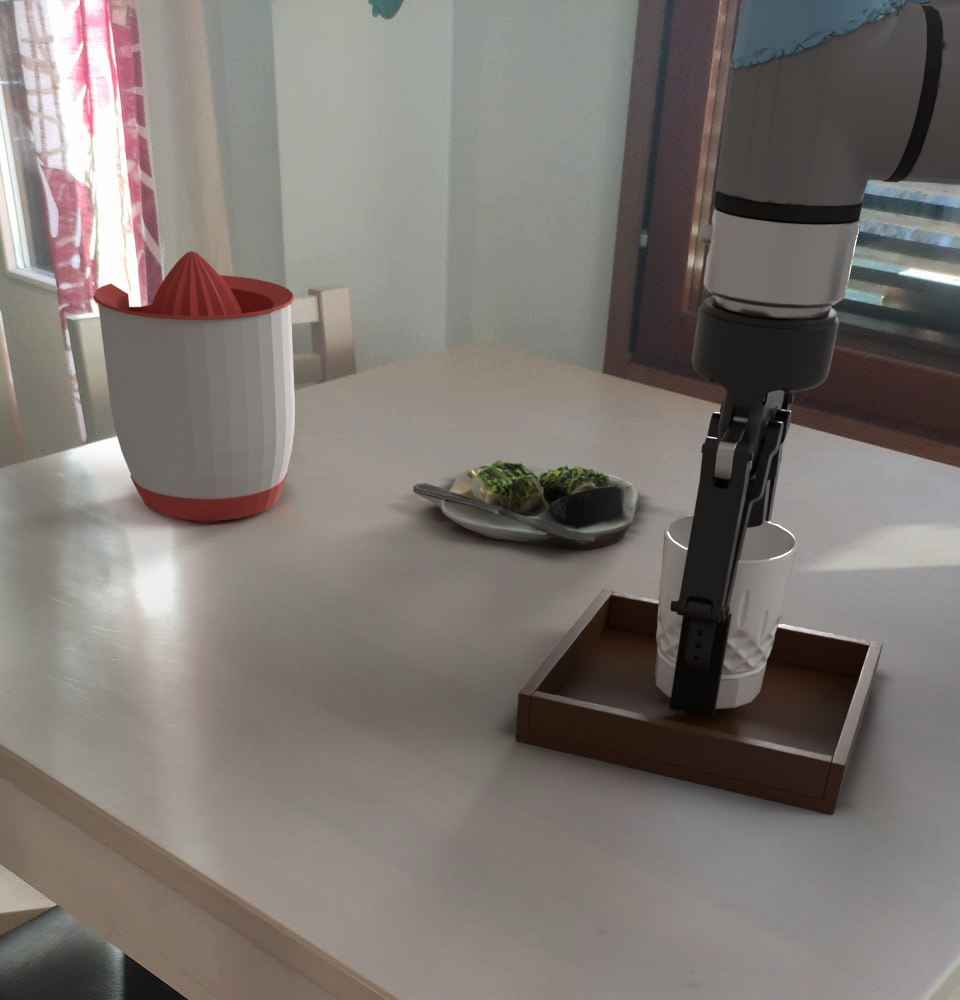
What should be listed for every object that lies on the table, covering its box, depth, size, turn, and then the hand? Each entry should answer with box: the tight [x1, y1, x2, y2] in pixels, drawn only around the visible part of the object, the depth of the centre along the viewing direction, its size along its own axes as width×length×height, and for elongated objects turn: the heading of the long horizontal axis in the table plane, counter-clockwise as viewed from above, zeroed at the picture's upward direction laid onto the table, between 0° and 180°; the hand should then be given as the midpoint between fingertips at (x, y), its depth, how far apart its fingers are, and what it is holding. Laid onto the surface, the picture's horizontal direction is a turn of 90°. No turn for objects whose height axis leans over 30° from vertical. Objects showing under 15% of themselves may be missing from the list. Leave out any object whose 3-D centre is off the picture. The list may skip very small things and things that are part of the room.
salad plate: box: [412, 460, 639, 551], centre depth 109 cm, size 19×18×5 cm
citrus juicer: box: [93, 250, 296, 525], centre depth 104 cm, size 16×17×20 cm
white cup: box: [655, 513, 798, 709], centre depth 78 cm, size 8×8×10 cm
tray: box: [514, 588, 884, 815], centre depth 81 cm, size 20×18×3 cm
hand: (707, 681), depth 81 cm, fingers closed on white cup, 7 cm apart
